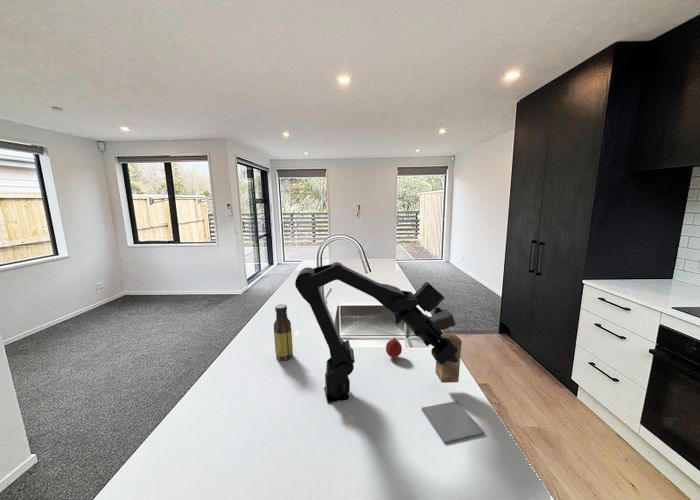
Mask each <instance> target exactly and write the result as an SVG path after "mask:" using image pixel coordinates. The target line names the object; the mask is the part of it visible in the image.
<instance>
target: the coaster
mask: <svg viewBox="0 0 700 500" xmlns="http://www.w3.org/2000/svg"><path fill="white" fill-rule="evenodd" d="M421 411H422V412H423V414H424V416H425V417H426V418H427V420H428V422H429V423H430V425H431V426H432V427H433V429H434V430H435V432H436V434H437V435H438V437H439V438H440V439H441V441H442V442H443V444H444V445H445V444H448V443H449V444H450V443H452V442H457V441H462V440H465V439H466V440H467V439H471V438H475V437H478V436H479V437H480V436H484V435H485V434H486V433H485V430H483V429H482V427H481V426H480V425H479V424H478V423H477V422H476V420H475V419H473V417H472V416H471V415H470V414H469V413H468V412H467V411H466V410H465V408H464V407H463V406H462V405H461V404H460V403H459V401H458V400H455V401H454V400H453V401H449V402H444V403H438V404H434V405H427V406H423V407H421Z"/></svg>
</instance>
